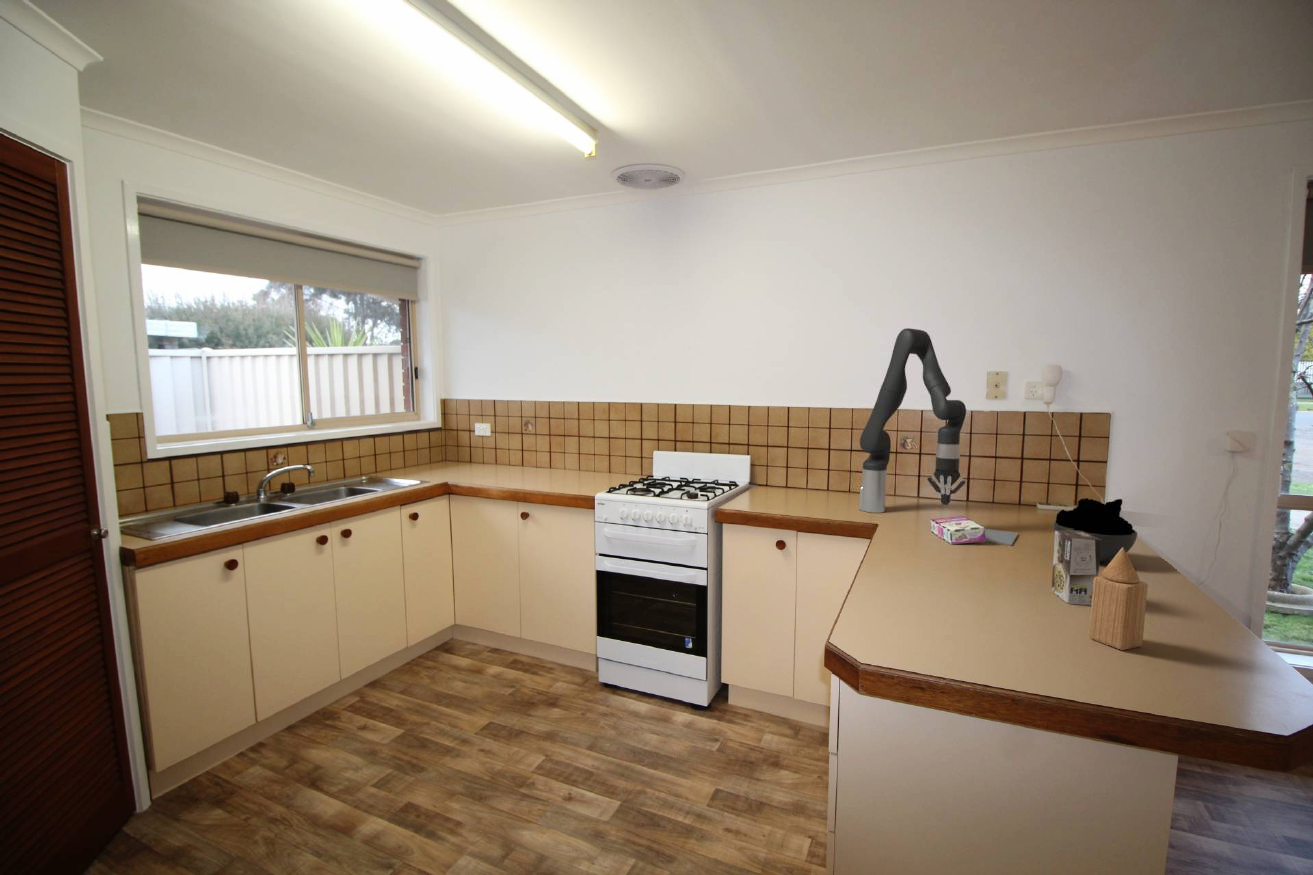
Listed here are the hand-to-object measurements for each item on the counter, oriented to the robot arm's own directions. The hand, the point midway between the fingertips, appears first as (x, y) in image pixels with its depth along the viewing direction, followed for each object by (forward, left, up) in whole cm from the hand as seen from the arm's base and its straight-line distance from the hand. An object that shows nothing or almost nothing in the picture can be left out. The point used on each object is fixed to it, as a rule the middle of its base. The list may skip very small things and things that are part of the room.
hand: (945, 504), depth 211 cm
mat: (+14, 0, -9) cm, 17 cm away
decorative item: (+48, -79, -10) cm, 93 cm away
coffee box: (+40, -54, -10) cm, 68 cm away
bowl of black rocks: (+43, -12, -9) cm, 45 cm away
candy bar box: (+1, -3, -6) cm, 7 cm away
